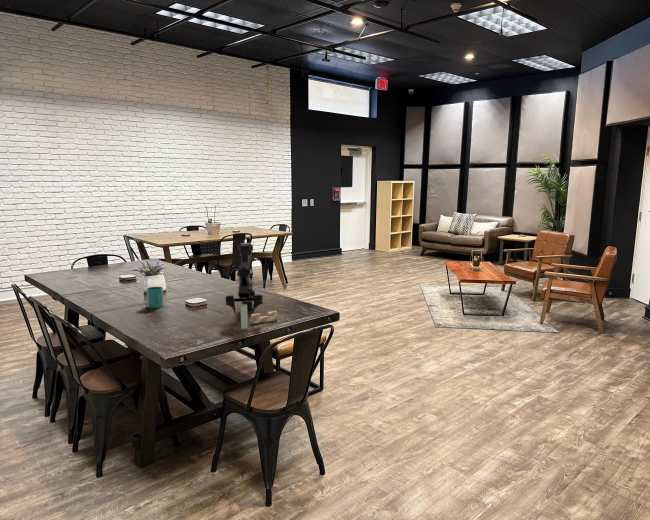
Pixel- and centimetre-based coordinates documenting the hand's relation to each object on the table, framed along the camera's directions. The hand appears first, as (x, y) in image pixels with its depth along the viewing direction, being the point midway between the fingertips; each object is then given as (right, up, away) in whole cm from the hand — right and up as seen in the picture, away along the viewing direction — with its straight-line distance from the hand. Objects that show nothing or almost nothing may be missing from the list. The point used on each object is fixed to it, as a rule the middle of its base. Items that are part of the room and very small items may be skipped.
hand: (244, 314), depth 244 cm
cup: (-59, -1, +41) cm, 72 cm away
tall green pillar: (0, -7, +1) cm, 7 cm away
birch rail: (+9, -5, +11) cm, 15 cm away
